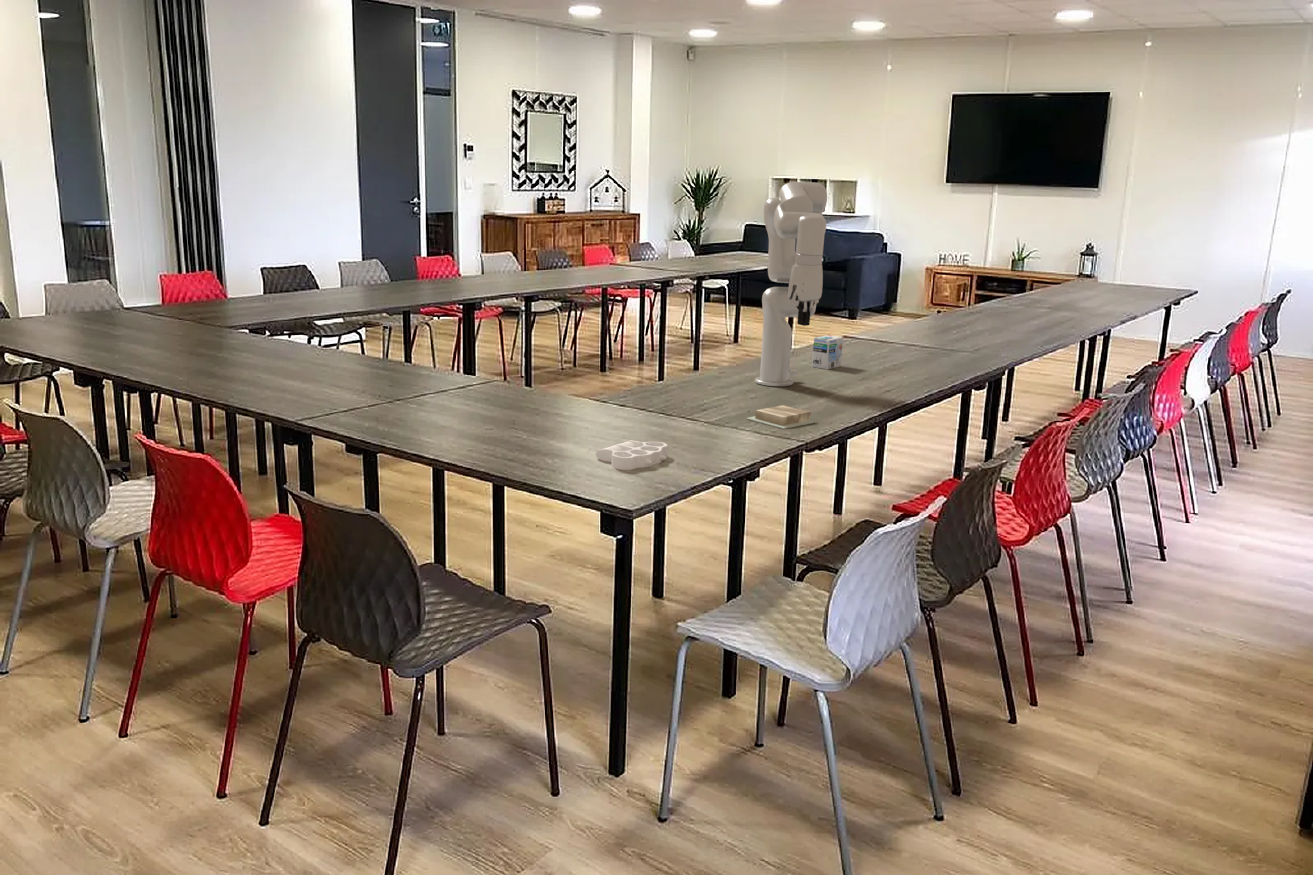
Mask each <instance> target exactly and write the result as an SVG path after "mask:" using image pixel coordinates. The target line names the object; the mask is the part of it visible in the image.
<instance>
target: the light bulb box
mask: <svg viewBox="0 0 1313 875" xmlns="http://www.w3.org/2000/svg"><path fill="white" fill-rule="evenodd" d="M843 344H844V337H843V336H836V335H831V334H830V335H829V334H826V335H823V336H817V337H814V338H813V345H812V347H813V348H812V360H811V361H812V362H811V368H817V369H821V370H822V369H823V370H831V369H834V368H838V367H841V366H842V355H843Z"/></svg>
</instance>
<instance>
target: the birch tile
mask: <svg viewBox="0 0 1313 875" xmlns="http://www.w3.org/2000/svg"><path fill="white" fill-rule="evenodd" d="M811 414H812V411H809V410H805V409H800V408H797V407H793V406H789V405H785V404H782V405H777V406H772V407H765V408H761V409H760V408H759V409H756V410H755V419H759V420H763V421H766V422H770V423H774V424H778V425H781V426H783V425H788V424H793V423H798V422H803V421H811V417H812V416H811Z"/></svg>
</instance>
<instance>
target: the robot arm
mask: <svg viewBox="0 0 1313 875" xmlns="http://www.w3.org/2000/svg"><path fill="white" fill-rule="evenodd" d="M827 191H828V190H827V189H826V187H825V185H823V184H822V183H820V182H812V181H811V182H810V181H809V182H808V181H789V182H787V183H785V184H784V185H782V186H781V187H780V188H779V193H778V196H776V197H774V196H773V197H770V198H768V199H766V201H765V202H764V205H763V222H764V225H765V230H766V232H767V235H768V236H767V237H768V255H767V256H768V257H767V275H768V278H769V280H770V281H771V282H775V283H779V284H780V283H781V284H783V283H784V284H788V286H773V287H769V288H766V290H765V291H764V292H763V293H762V296H761V297H762V298H761V303H762V305H761V306H762V319H763V320H762V340H761V342H762V343H761V353H760V354H761V356H760V367H759V368H760V371H759V376H755V378H754V382H755V383H756V384H758V385H760V386H761V385H762V386H768V387H788V386H789V387H790V386H792V385H793V384H794V380H793V379H792V376H797V375H798V374H799V373H798V370H797V369H791V368H790V367H791V366H790V365H791V354H792V351H791V350H792V339H793V329H792V327H791V326H790V324H789V322H787V320H786V318H797V325H800V326H804V327H805V326H810V323H811V322H810V321H811V317H812V316H814V315H815V312H816V308H817V304H819V301H820V299H821V298H822V294H823V283H824V281H823V280H824V279H823V278H824V275H823V274H824V273H823V255H824V254H823V253H824V243H825V233H826V230H827V220H826V219H825V217H824V215H823V212H824V210H825V209H826V208H827V203H828V192H827Z"/></svg>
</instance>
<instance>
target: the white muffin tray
mask: <svg viewBox="0 0 1313 875" xmlns="http://www.w3.org/2000/svg"><path fill="white" fill-rule="evenodd" d="M668 448H669V445H668V444H667V443H665V442H662V441H637V440H627V441H625V442H621V443H618V444H614V445H611V446H609V447H605V448H600V449H599V450H597V451H596V452H595V456H596V458H597V459H598V460H599V461H604V462H609V463H611V467H612V468H613V469H616V470H621V471H623V470H624V471H629V470H630V471H631V470H634V469H638V468H639V469H640V468H649V467H652V466H653V465H657V464H660V463H662V462H663V461H664V460H666V459H668V450H669V449H668Z"/></svg>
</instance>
